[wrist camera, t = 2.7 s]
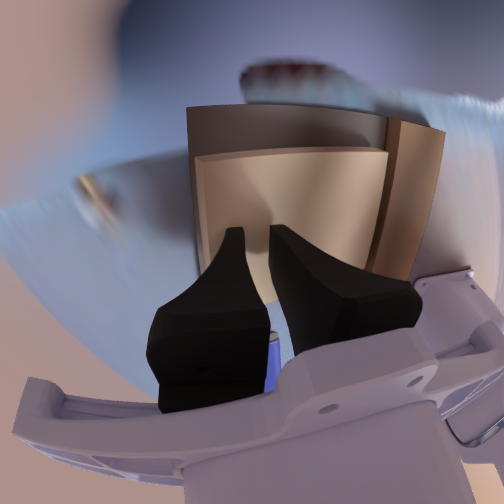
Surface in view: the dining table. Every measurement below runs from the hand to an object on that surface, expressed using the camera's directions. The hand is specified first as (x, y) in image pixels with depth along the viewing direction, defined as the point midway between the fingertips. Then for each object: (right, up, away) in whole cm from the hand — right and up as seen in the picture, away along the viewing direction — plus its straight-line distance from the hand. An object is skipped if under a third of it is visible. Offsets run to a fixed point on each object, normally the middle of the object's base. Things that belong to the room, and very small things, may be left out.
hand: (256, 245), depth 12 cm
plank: (+2, +1, +2) cm, 3 cm away
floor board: (+4, +3, +4) cm, 7 cm away
